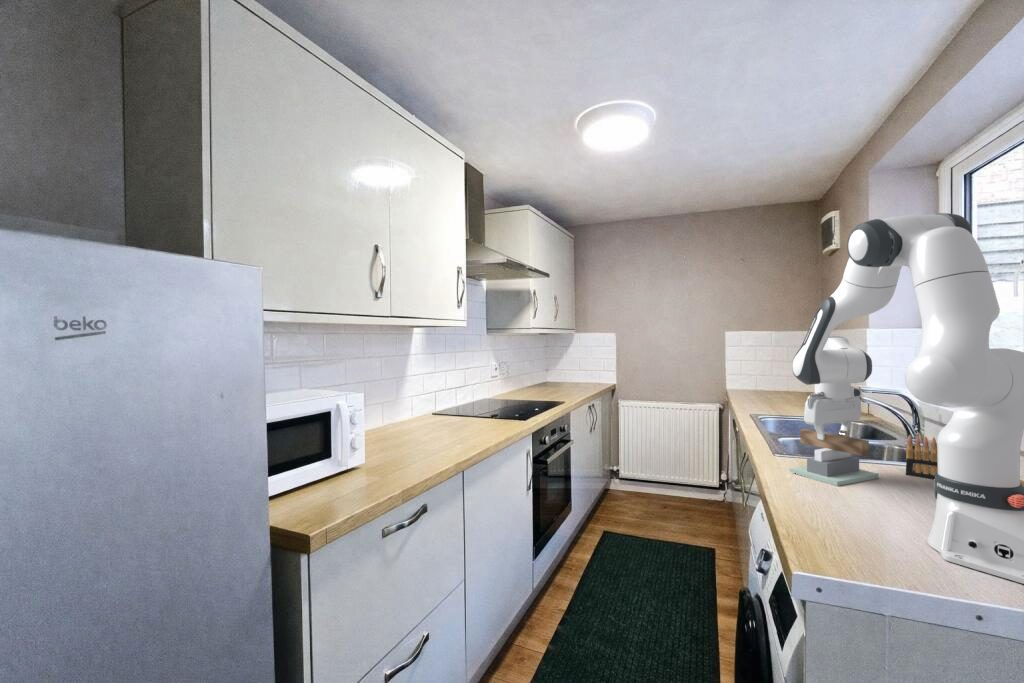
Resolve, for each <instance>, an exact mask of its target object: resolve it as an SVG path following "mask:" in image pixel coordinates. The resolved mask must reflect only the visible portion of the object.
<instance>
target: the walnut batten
mask: <svg viewBox="0 0 1024 683" xmlns="http://www.w3.org/2000/svg"><path fill="white" fill-rule="evenodd" d="M799 430H800V432H799V435H800V438H799V441H800V443H801V444H805V445H809V446H814V447H819V448H822V449H824V448H827V449H832V450H836V451H841V452H846V453H850V454H851V455H855V456H859V457H864V456H870V441H869V440H867V439H861V438H856V437H851V436H841V435H839V434H835V433H831V432H825V431H824V433H826V434H827V436H826V437H827V439H824V440H821V439H818V438H817V432H816V430H815V429H814V430H813V429H809V428H806V429H805V428H804V429H799Z"/></svg>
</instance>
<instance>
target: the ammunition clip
mask: <svg viewBox="0 0 1024 683" xmlns="http://www.w3.org/2000/svg"><path fill="white" fill-rule="evenodd" d="M907 436H908V437H907V440H906V441H907V442H906V449H905V452H906V456H905V457H906V460H905V462H906V464H905V465H906V466H905V475H906V476H909V477H915V478H922V479H927V478H928V479H929V480H934V479H935V473H936V472H938V458H937V439H936V438H935V437H932V439H931V443H930V445H929V440H928V437H927V436H924V438H923V441H922V446H921V438H920V436H919V435H916V437H915V442H914V445H913V438H912V435H911V434H909V435H907ZM929 446H930V448H929Z"/></svg>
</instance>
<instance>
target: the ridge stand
mask: <svg viewBox="0 0 1024 683" xmlns="http://www.w3.org/2000/svg"><path fill="white" fill-rule="evenodd" d="M790 472H793V473H796V474H795V475H797V474H799V475H798V476H800V475H802V476H801V477H804V476H805V477H804V478H807V477H808V479H810V478H811V479H810V480H814V481H818V482H820V483H825V484H828V485H831V486H834V487H835V486H836V487H838V486H839V487H840V486H845V485H849V484H854V483H855V484H856V483H860V482H864V481H869V480H875V478H876V479H879V473H877V472H873V471H868V470H865V469H861V468H860V458H859V457H856V456H852V454H850V453H846V452H841V451H836V450H832V449H827V448H818V449H814V457H808V458H806V465H803V466H797V467H791V468H789V473H790ZM793 473H792V474H793Z"/></svg>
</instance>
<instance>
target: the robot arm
mask: <svg viewBox="0 0 1024 683" xmlns="http://www.w3.org/2000/svg"><path fill="white" fill-rule="evenodd" d="M846 246H847V247H846V248H847V249H846V250H847V254H848V256H849V258H848V260H847V264H846V266H845V268H844V272H843V276H842V279H841V281H840V284H839V285H838V287H837V288H836V290H835V291H834V292H833V293H832V294H831V295H830V296H828V297H826V298H824V299H823V300H822V301H821V303H820V304H819V306H818V308H817V310H816V313H815V314H814V316H813V318H812V321H811V323H810V325H809V328H808V330H807V332H806V335H805V337H804V339H803V342H802V344H801V346H800V348H799V349H798V350H797V352H796V353H795V354H794V357H793V360H792V366H791V370H792V374H793V376H794V377H795V378H796V379H797V380H799V381H800V382H801V383H803V384H805V385H807V386H808V385H810V386H811V385H814V392H812V393H810V395H808V397H807V398H806V399H807V400H806V401H805V404H804V412H803V414H804V415H803V419H804V423H805V424H807V425H810V426H813V428H814V431H816V432H817V438H818V439H821V440H824V439H827V437H826V436H827V434H826V433H827V432H825V430H824V428H825V425H832V424H838V423H839V424H840V425H841V426H840V429H838V435H841V436H846V437H849V430H850V427H851V425H852V422H855V421H859V420H860V418H861V416H862V400H861V397H862V395H863V392H862V389H860V388H858V387H855V386H853V385H851V384H860V383H863V382H865V381H867V380H868V379H869V378H870V377H871V375H872V373H873V361H872V358H871V356H870V355H869V354H868V353H866V352H865V351H864V350H863V349H862V350H861V349H858V348H855V347H854V346H852V345H851V344H850V343H849V342H850V341H849V340H848V339H847V337H844V336H831V334H832V332H833V331H834V329H835V328H836V327H838V326H839V325H841V324H844V323H847V322H848V321H851V320H853V319H857V318H859V317H864V316H868V315H871V314H874V313H877V312H879V311H880V310H882V309H883V308H885V307H886V306H887V305H888V304H889V303H890V301H891V300H892V299H893V297H894V295H895V291H896V289H897V285H898V282H899V279H900V274H901V270H902V268H903V266H904V267H908V269H909V271H910V273H911V279H912V284H913V289H914V292H915V297H916V302H917V305H918V311H919V314H920V320H921V338H920V343H919V348H918V351H917V354H916V355H915V357H914V358H913V359H912V360H911V361H910V362H909V364H908V365H907V367H906V370H905V374H904V380H905V381H904V382H905V384H906V387H907V389H908V391H909V392H910V394H911V395H912V396H913V397H914V398H915V399H917V400H918V401H920V402H922V403H925V404H928V405H932V406H933V405H934V406H938V407H943V408H948V409H949V408H951V409H954V411H953V414H952V416H951V418H950V420H949V421H948V422H947V424H945V426H943V427H942V428H941V429H940V431H939V432H938V434H937V439H936V444H937V458H938V472H936V473H935V480H934V484H933V489H934V498H935V501H936V503H935V510H934V516H933V522H932V525H931V529H930V532H929V535H928V536H927V538H926V542H927V544H928V545H929V546H930V547H931V548H933V549H934V550H935V551H937V552H938V553H939V554H940V555H941V558H942V559H943V560H944V561H947V562H950V563H953V564H956V565H960V566H963V567H966V568H970V569H973V570H976V571H980V572H983V573H986V574H989V575H994V576H995V577H999V578H1004V579H1007V580H1011V581H1013V582H1016V583H1020V584H1023V585H1024V485H1022V483H1021V445H1022V441H1023V436H1024V351H1021V350H1016V349H1011V348H1005V347H1004V348H1003V347H1000V348H999V347H998V348H997V347H996V348H991V347H990V342H989V341H990V334H991V333H990V332H991V328H992V324H993V322H994V321H995V320H996V319H997V318H998V317H999V315H1000V311H1001V308H1000V305H999V302H998V298H997V297H998V296H997V294H996V291H995V288H994V284H993V283H994V282H993V280H992V277H991V274H990V270H989V267H988V263H987V261H986V259H985V255H984V254H983V252H982V251H981V248H980V246H979V244H978V243H977V241H976V239H975V238H974V236H973V233H972V227H971V224H970V223H969V221H968V220H967V218H966V217H964V216H962V215H960V214H956V213H948V212H947V213H946V212H940V213H935V214H905V215H897V216H891V217H886V218H881V219H879V218H875V219H870V220H867V221H864V222H861V223H858V224H857V225H856V226H855V227H854V228H853V229H852V230H851V232H850V234H849V236H848V238H847V245H846ZM824 432H825V433H824Z"/></svg>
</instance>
